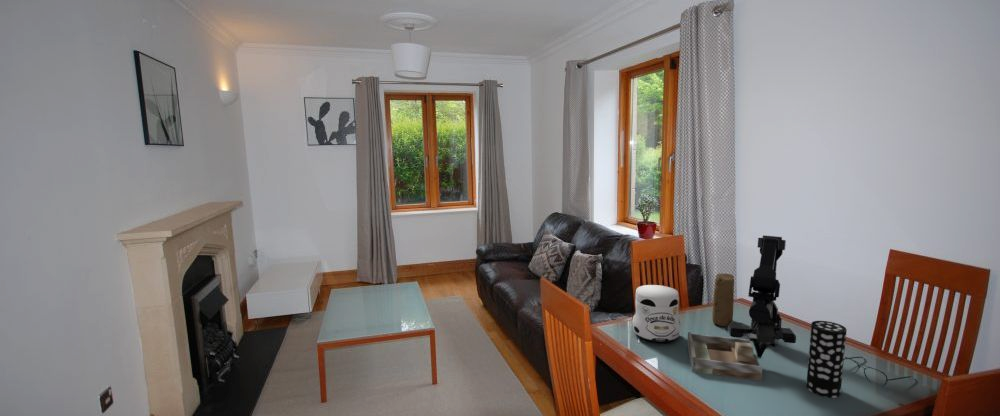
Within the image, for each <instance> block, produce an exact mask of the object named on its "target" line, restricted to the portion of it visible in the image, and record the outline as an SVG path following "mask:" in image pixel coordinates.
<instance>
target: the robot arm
mask: <svg viewBox="0 0 1000 416" xmlns="http://www.w3.org/2000/svg"><path fill="white" fill-rule="evenodd" d="M786 240H787V239H786ZM786 240H785V239H783V237H782V236H775V235H762V237H758V238H757V248H758V249H759V254H760V261H759V265H758V267H757V268H755V269H754V271H753V275H752V276H750V279H749V288H748V294H747V295H748V297H750V298H752V303H751V304H750V307H749V310H748V315H749V318H751V322H750V327H743V325H742V323H736V322H732V323H730V324H728V326H727V331H728V332H727V333H728V334H729V336H730V338H736V339H743V337H744V336H745V335H746V336H747V338H748V340H750V342H752V343H753V347H754V349H755V352H756V356H757V358H758V359H759V358H760V359H762V357H763V354H764V353H765V351H766V349H767V348H768V347H777V344H776V341H779V340H781V341H783V342H784V343H788V344H795V343H796V342H797V336H796V334H795V333H794V331H793V330H792V329H791V328H788V327H782V322H783V320H782V319H783V318H782V317H781V314H780V313H778V311H779V308H778V307H777V304H776V303H775V301H777V298H779V297H780V292H781V291H780V290H781V289H780V288H781V283H780V281H779V279H777V265H778V261H779V259H780V258H781V256H782V255H783V253H784V251H786V245H787V244H786V243H787V242H786Z"/></svg>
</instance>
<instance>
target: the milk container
mask: <svg viewBox="0 0 1000 416" xmlns="http://www.w3.org/2000/svg"><path fill="white" fill-rule="evenodd" d="M679 295H680V294H679V292H678V290H677V289H675V288H672V287H669V286H665V285H661V284H660V285H657V284H646V285H641V286H638V287H637V288H636V290H635V300H634V301H635V308H634V313H633V316H632V330H633V332H634V334H636V335H637V336H638V338H641V339H643V340H646V341H650V342H656V343H667V342H672V341H674V340H676V339H677V338H678V337H679V335H680V332H681V321H680V318H679V307H680V306H679V305H680V303H679V302H680V297H679Z"/></svg>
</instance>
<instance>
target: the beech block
mask: <svg viewBox="0 0 1000 416" xmlns="http://www.w3.org/2000/svg"><path fill="white" fill-rule="evenodd" d="M753 356H754V349H753V345H752V344H751V343H741V342H735V357H736V359H737V361H745V362H752V359H753Z"/></svg>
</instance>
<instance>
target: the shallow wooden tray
mask: <svg viewBox="0 0 1000 416" xmlns="http://www.w3.org/2000/svg"><path fill="white" fill-rule="evenodd" d="M735 342H741V343H750V342H751V341H750V340H749V339H744V338H737V337H724V336H717V335H705V334H697V333H692V332H690V331H689V332H687V349H688V356H689V362H690V367H691V368H690V369H691V372H693V373H701V374H708V375H717V376H723V377H725V376H726V377H731V378H732V377H733V378H739V379H746V380H756V381H762V380H763V379H762V378H763V366H762V365H758V362H757V360H756V358H755V357H754V355H753V359H752V362H745V361H737V359H736V357H735ZM750 344H751V343H750Z"/></svg>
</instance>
